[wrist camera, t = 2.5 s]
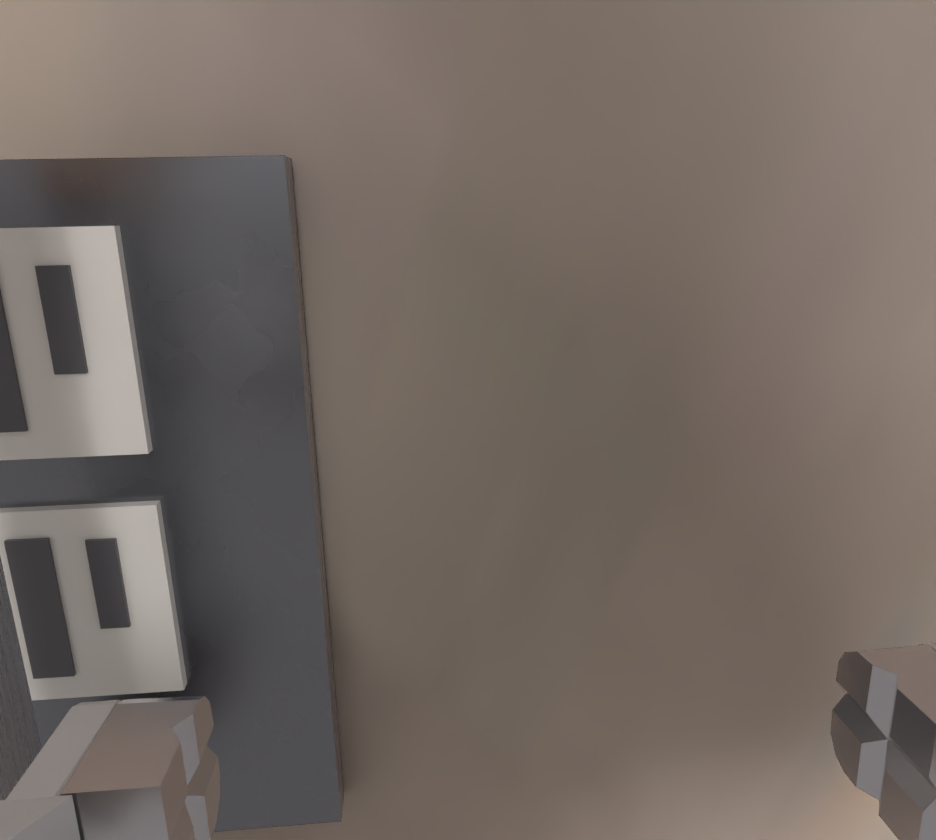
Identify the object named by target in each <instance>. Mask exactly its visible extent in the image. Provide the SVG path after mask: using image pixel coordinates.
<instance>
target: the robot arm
mask: <svg viewBox="0 0 936 840" xmlns="http://www.w3.org/2000/svg"><path fill="white" fill-rule="evenodd" d="M836 681H837V682H838V684H839V685H840V687H841V688H842V690H843V691H844V693H845V695H844V697H843V698H842V699H841V700H840V702H839V703H838V704H837V705H836V706H835V708H834V709H833V710H832V722H831V736H832V741H833V745H834V749H835V754H836V757H837V759H838V761H839V763H840V765H841V767H842V769H843V771H844V772H845V774H846V775H847V776H848V777H849V779H850V780H851V781H852V783H853V784H854V785H855V786H856V787H857V788H859V789H860V790H862V791H864V792H866V793H868V794H869V795H871V796H873V797H875V798H877V799H878V800H879V816H880V817H881V819H882V820H883V821H884V822H885V823H886V825H887V826H888V827H889V828H890V830H891V831H892V832H893V833H894V834H895V836H896V837H897V838H898V839H899V840H936V643H931V644H922V645H918V646H909V647H897V648H886V649H874V650H863V651H851V652H844V654H843V656H842V658H841V659H840V661H839V663H838V670H837V677H836ZM213 727H214V723H213V717H212V711H211V705H210V702H209V700H208V699H207V698H206V697H205V696H186V697H166V698H145V699H125V700H122V701H121V700H107V701H94V702H81V703H79V704H77V705H75V706H72V707H71V709H70V710H69V711H68V712H67V714H66V715H65V717H64V718H63V719H62V721H61V722H60V724H59V725H58V727H57V728H56V729H55V731H54V732H53V734H52V735H51V736H50V738H49V739H48V741H47V742H46V743H45V745H44V746H43V748H42V749H41V750H40V752H39V753H38V755H37V756H36V757H35V759H34V760H33V762H32V763H31V765H30V766H29V767H28V769H27V770H26V772H25V773H24V774H23V776H22V777H21V779H20V780H19V781H18V783H17V784H16V786H15V787H14V788H13V790H12V791H11V793H10V794H9V795H8V797H7V798H6V800H0V840H211V838H212V834H213V831H214V828H215V824H216V821H217V814H218V807H219V800H220V770H219V761H218V756H217V755H216V754H215V753H214V752H213V751H212V750H211V749H210V748H208V747H207V746H206V745H207V743H208V740H209V737H210V735H211V732H212V729H213Z"/></svg>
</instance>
